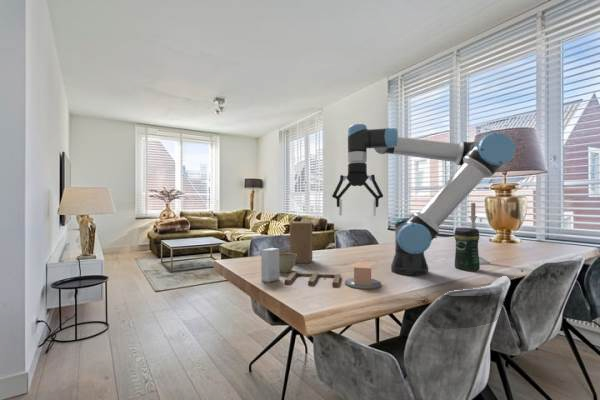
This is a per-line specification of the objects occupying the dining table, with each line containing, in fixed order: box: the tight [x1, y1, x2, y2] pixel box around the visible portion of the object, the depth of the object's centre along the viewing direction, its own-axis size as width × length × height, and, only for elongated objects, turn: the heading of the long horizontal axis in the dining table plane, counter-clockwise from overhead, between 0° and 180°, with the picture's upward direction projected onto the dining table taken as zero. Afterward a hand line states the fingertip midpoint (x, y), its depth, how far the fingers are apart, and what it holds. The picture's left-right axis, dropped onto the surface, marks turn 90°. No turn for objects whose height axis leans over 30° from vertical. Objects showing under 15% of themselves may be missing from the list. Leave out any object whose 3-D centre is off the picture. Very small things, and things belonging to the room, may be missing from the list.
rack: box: [284, 271, 342, 288], centre depth 116 cm, size 20×14×2 cm
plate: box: [344, 277, 382, 290], centre depth 111 cm, size 13×13×1 cm
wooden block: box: [289, 220, 313, 264], centre depth 152 cm, size 10×10×20 cm
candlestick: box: [469, 202, 489, 265], centre depth 152 cm, size 13×13×30 cm
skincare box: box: [260, 247, 280, 283], centre depth 117 cm, size 6×4×12 cm
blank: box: [353, 261, 372, 285], centre depth 112 cm, size 6×10×6 cm, turn 167°
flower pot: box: [279, 252, 297, 273], centre depth 132 cm, size 10×10×7 cm
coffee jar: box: [454, 227, 481, 272], centre depth 136 cm, size 10×8×19 cm
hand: (357, 215), depth 123 cm, fingers open, 13 cm apart
